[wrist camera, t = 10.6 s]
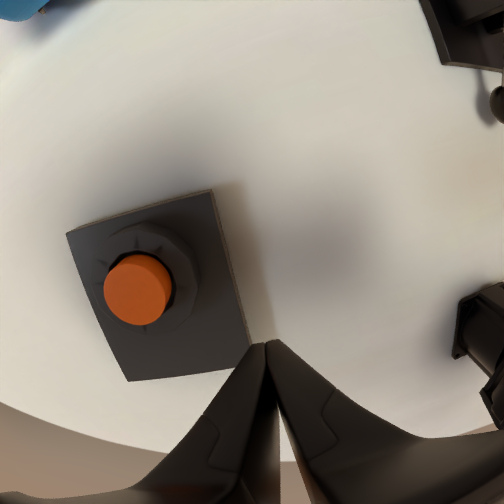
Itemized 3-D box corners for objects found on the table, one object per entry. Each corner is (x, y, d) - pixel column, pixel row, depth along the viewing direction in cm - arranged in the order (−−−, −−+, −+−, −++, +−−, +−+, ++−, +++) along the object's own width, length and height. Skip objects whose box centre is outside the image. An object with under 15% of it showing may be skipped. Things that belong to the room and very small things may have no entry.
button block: (254, 350, 22) (256, 380, 19) (133, 369, 23) (121, 397, 19) (212, 188, 19) (206, 194, 15) (76, 227, 19) (50, 240, 16)
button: (179, 305, 18) (174, 320, 16) (126, 315, 18) (117, 329, 16) (161, 247, 17) (153, 257, 15) (106, 261, 17) (94, 271, 15)
